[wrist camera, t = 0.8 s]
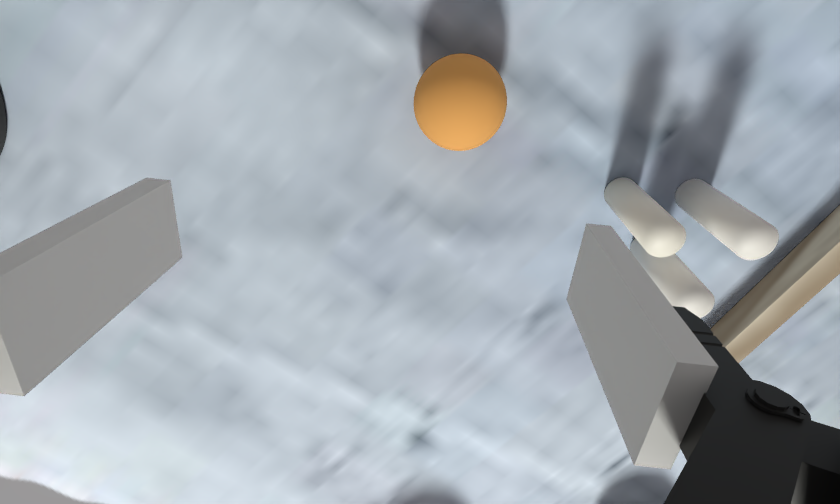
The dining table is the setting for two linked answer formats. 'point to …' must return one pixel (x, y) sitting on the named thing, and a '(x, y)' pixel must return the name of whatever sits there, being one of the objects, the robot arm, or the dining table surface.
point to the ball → (460, 102)
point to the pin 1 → (675, 281)
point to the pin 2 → (727, 220)
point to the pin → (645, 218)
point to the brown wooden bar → (782, 290)
